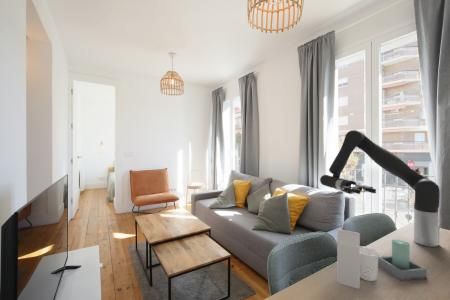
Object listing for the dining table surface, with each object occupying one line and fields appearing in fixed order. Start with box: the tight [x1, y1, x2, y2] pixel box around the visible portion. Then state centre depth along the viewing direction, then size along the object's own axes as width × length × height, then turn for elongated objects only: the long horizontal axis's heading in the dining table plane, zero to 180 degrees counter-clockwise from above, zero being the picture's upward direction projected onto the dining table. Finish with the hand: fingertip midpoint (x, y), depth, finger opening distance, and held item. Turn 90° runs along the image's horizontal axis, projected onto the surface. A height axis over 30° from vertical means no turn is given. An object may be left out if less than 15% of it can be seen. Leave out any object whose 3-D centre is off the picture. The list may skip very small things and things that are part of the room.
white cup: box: [360, 245, 380, 282], centre depth 85 cm, size 8×8×10 cm
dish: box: [378, 255, 428, 282], centre depth 88 cm, size 11×11×4 cm
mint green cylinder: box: [391, 239, 411, 270], centre depth 88 cm, size 6×6×11 cm
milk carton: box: [336, 229, 361, 290], centre depth 82 cm, size 7×7×19 cm
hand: (367, 191), depth 109 cm, fingers open, 8 cm apart
